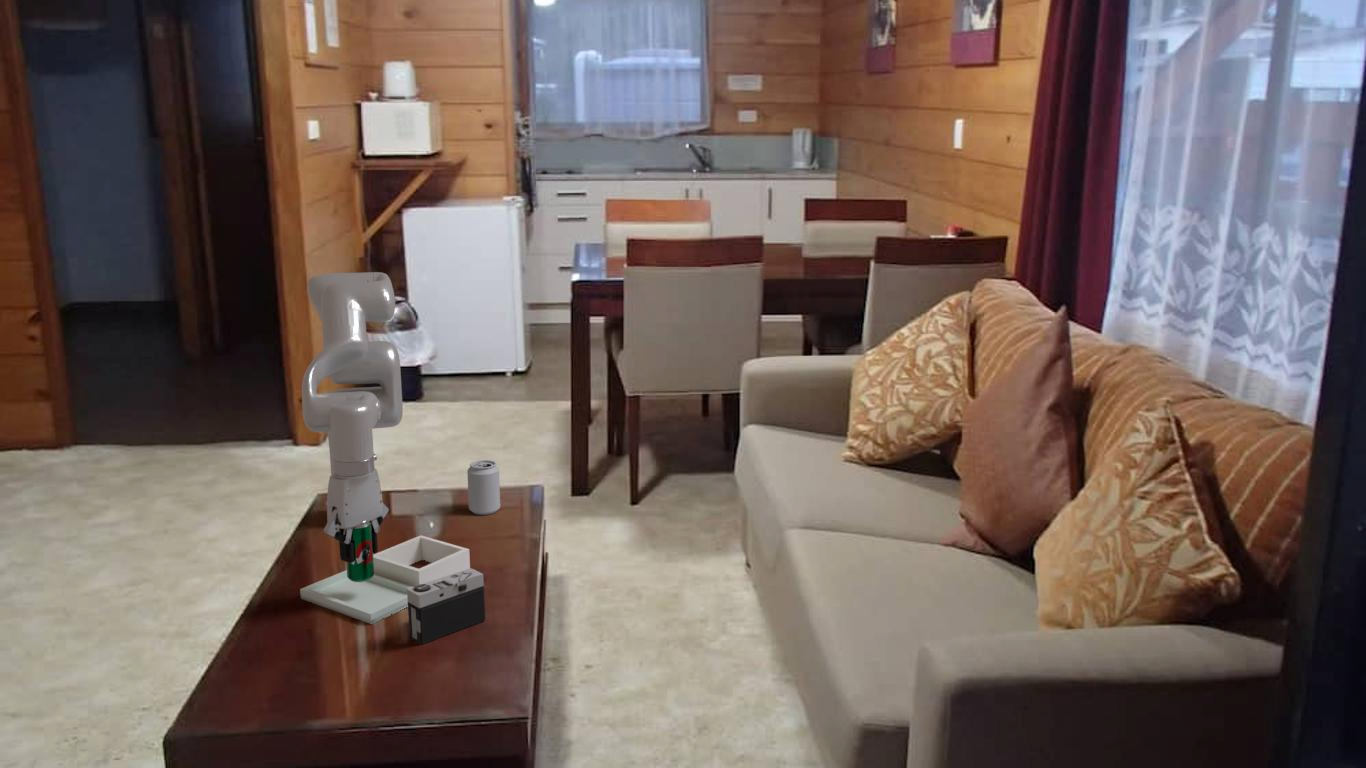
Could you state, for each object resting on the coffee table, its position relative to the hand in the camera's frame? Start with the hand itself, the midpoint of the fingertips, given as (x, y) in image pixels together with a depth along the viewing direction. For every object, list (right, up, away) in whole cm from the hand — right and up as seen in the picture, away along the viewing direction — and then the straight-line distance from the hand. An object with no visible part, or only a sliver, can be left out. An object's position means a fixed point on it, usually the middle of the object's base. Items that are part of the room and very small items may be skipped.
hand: (359, 555), depth 207 cm
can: (+15, +2, +51) cm, 54 cm away
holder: (+9, -6, +14) cm, 17 cm away
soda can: (0, -5, +1) cm, 5 cm away
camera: (+18, -12, -9) cm, 23 cm away
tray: (0, -9, +2) cm, 9 cm away
